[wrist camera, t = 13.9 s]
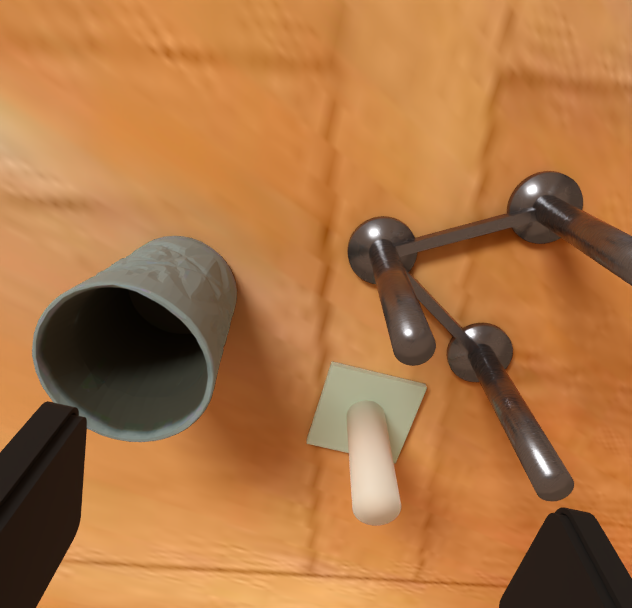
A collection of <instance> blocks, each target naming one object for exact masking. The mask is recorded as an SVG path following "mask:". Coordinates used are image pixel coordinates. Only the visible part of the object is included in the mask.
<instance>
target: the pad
mask: <svg viewBox="0 0 632 608" xmlns="http://www.w3.org/2000/svg"><path fill="white" fill-rule="evenodd" d="M426 389H427V387H426V384H423V383H419V382H415V381H411V380H407V379H403V378H399V377H394V376H390V375H386V374H382V373H378V372H374V371H370V370H365V369H361V368H357V367H353V366H349V365H345V364H340V363H336V362H331V365H330V368H329V372H328V375H327V378H326V381H325V384H324V387H323V390H322V393H321V396H320V400H319V403H318V406H317V409H316V412H315V415H314V418H313V421H312V424H311V428H310V431H309V434H308V437H307V444H311V445H315V446H320V447H324V448H329V449H333V450H337V451H342V452H346V453H349V448H348V433H347V418H346V416H347V411H348V409H349V408H350V407H351V406H352V405H353V404H355V403H356V402H359V401H363V400H369V401H373V402H376V403H378V404H379V405H380V406H381V407H382V408H383V410H384V413H385V418H386V424H387V429H388V435H389V440H390V446H391V452H392V457H393V463H395V464H396V461H397V459H398V456H399V454H400V452H401V449H402V447H403V444H404V442H405V440H406V437H407V435H408V432H409V430H410V428H411V425H412V423H413V420H414V418H415V416H416V413H417V411H418V408H419V406H420V404H421V401H422V399H423V396H424V394H425V391H426Z"/></svg>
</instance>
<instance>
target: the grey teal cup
mask: <svg viewBox="0 0 632 608" xmlns="http://www.w3.org/2000/svg"><path fill="white" fill-rule="evenodd" d="M236 299H237V289H236V282H235V279H234V276H233V274H232V271H231V269H230V268H229V266H228V264H227V263H226V262H225V260H224V259H223V258H222V256H221V255H219V254H218V253H217V252H216V251H215V250H214V249H212V248H211V247H209V246H208V245H206V244H204V243H203V242H200V241H198V240H195V239H192V238H188V237H181V236H168V237H162V238H158V239H154V240H152V241H150V242H148V243H146V244H145V245H143V246H142V247H140V248H139V249H137V250H135V251H134V252H133V253H132V254H131V255H129V256H127V257H126V258H122V259H120V260H119V261H117V262H115V263H114V264H112V265H111V266H110V267H109V268H107V269H105V270H104V271H101V272H99V273H98V274H97V275H96V276H94V277H91V278H89V279H88V280H86V281H84V282H82V283H80V284H79V285H77V286H75V287H73V288H71V289H70V290H68V291H66V292H65V293H63V294H61V295H60V296H59V297H57V298H56V299H55V300H54V301H53V302H52V303H51V304H50V305H49V306H48V307H47V308H46V309H45V311H44V312H43V314H42V315H41V317H40V319H39V320H38V323H37V326H36V329H35V332H34V338H33V349H32V357H33V361H34V366H35V371H36V373H37V375H38V378H39V380H40V382H41V385H42V387H43V389H44V390H45V391H46V393H47V394H48V395H49V397H50V398H51V400H52V401H53V402H54V403H58V404H63V405H67V406H72V407H76V408H78V410H79V416H82V417H86V419H87V429H89V430H91V431H94V432H96V433H98V434H100V435H103V436H106V437H109V438H113V439H117V440H123V441H129V442H148V441H156V440H161V439H165V438H168V437H171V436H173V435H176V434H178V433H180V432H182V431H184V430H185V429H187V428H188V427H189V426H191V425H192V424H193V423H194V422H195V421H197V420H198V419H199V417H200V416H201V415H202V414H203V413H204V411H205V410H206V408H207V406H208V404H209V403H210V400H211V398H212V394H213V391H214V387H215V382H216V378H217V374H218V369H219V365H220V361H221V357H222V354H223V347H224V345H225V342H226V339H227V335H228V332H229V329H230V322H231V319H232V316H233V313H234V309H235V305H236Z"/></svg>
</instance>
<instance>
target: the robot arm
mask: <svg viewBox="0 0 632 608" xmlns="http://www.w3.org/2000/svg"><path fill="white" fill-rule="evenodd" d="M86 431H87V419H86V417H82V416H79V410H78V408H76V407H72V406H67V405H63V404H58V403H53V402H48V401H47V402H45V403H43V404H42V405H41V406H40V407H39V409H38V410H37V411H36V412H35V413H34V414H33V415H32V417H31V418H30V419H29V420H28V421H27V422H26V424H25V425H24V426H23V427H22V428H21V429H20V430H19V432H18V433H17V434H16V435H15V436H14V437H13V439H12V440H11V441H10V442H9V443H8V444H7V445H6V447H5V448H4V449H3V450H2V451H1V452H0V608H36V607H37V605H38V603H39V601H40V599H41V597H42V596H43V594H44V592H45V590H46V588H47V587H48V585H49V583H50V581H51V579H52V577H53V576H54V574H55V572H56V570H57V568H58V567H59V565H60V563H61V561H62V559H63V558H64V556H65V554H66V552H67V550H68V548H69V547H70V545H71V543H72V541H73V539H74V537H75V535H76V533H77V530H78V527H79V524H80V518H81V505H82V490H83V476H84V461H85V446H86ZM499 608H632V578H631V577H630V575H629V573H628V572H627V570H626V568H625V566H624V565H623V563H622V561H621V560H620V558H619V556H618V555H617V553H616V551H615V550H614V548H613V546H612V545H611V543H610V541H609V539H608V538H607V536H606V534H605V533H604V531H603V529H602V528H601V526H600V524H599V523H598V521H597V519H596V518H595V517H594V516H593V515H592V514H590V513H588V512H583V511H578V510H573V509H568V508H559V509H558V510H557V511H556V512H555V513H551V514H549V515H548V516H547V518H546V519H545V521H544V523H543V525H542V526H541V528H540V530H539V532H538V534H537V535H536V537H535V539H534V541H533V542H532V544H531V546H530V548H529V550H528V551H527V553H526V555H525V557H524V558H523V560H522V562H521V564H520V566H519V567H518V569H517V571H516V573H515V574H514V576H513V578H512V580H511V582H510V583H509V585H508V587H507V589H506V590H505V592H504V594H503V596H502V598H501V600H500V604H499Z"/></svg>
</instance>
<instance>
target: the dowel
mask: <svg viewBox="0 0 632 608" xmlns="http://www.w3.org/2000/svg"><path fill="white" fill-rule="evenodd" d="M346 418H347V433H348V448H349V463H350V479H351V494H352V509H353V513H354V515H355V517H356V518H357V519H358V520H360V521H361V522H363V523H365V524H368V525H375V526H376V525H384V524H387V523H389V522H391V521H393V520H394V519H395V518H396V517H397V516H398V515H399V513H400V511H401V502H400V496H399V490H398V485H397V479H396V474H395V468H394V463H393V457H392V452H391V446H390V440H389V435H388V429H387V424H386V418H385V413H384V410H383V408H382V407H381V406H380V405H379V404H378V403H376V402H373V401H369V400H363V401H359V402H356V403H355V404H353V405H352V406H351V407H350V408H349V409H348V411H347V416H346Z"/></svg>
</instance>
